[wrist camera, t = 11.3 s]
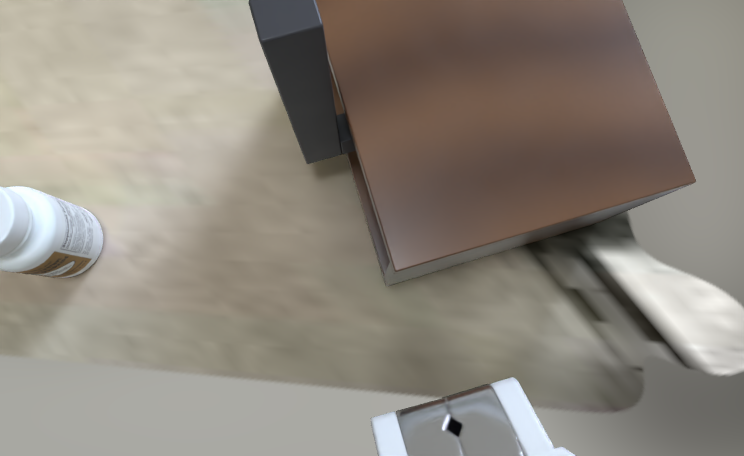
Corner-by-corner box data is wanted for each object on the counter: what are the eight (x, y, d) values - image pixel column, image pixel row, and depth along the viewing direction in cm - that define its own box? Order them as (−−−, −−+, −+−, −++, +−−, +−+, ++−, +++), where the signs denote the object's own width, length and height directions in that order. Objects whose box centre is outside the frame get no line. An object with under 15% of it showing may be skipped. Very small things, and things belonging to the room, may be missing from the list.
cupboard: (597, 222, 33) (697, 181, 23) (386, 286, 32) (394, 272, 22) (511, -7, 35) (568, -134, 25) (313, 47, 34) (292, -62, 24)
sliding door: (375, 163, 32) (384, 17, 16) (313, 181, 32) (261, 50, 16) (342, 58, 33) (322, -174, 17) (282, 74, 33) (206, -145, 17)
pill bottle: (29, 280, 32) (-78, 268, 24) (33, 208, 32) (-69, 174, 25) (104, 276, 32) (21, 264, 24) (106, 204, 32) (27, 170, 25)
